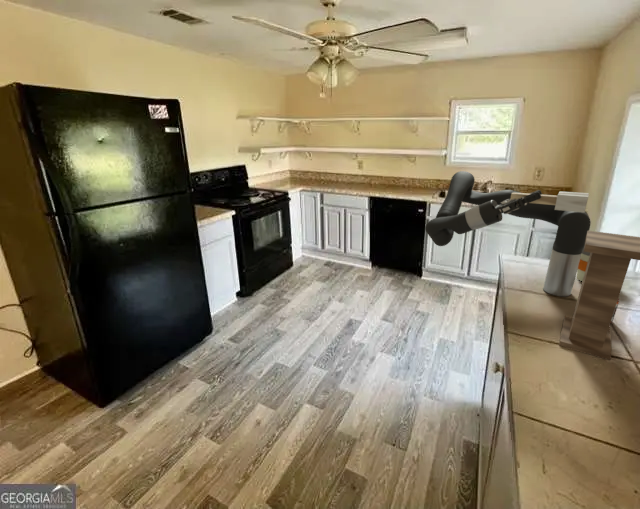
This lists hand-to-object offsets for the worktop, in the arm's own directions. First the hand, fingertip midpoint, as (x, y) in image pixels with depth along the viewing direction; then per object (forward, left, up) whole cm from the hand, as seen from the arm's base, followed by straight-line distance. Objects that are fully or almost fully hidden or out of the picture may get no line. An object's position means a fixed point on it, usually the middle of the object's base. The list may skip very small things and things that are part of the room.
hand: (540, 193), depth 101 cm
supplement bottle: (-16, +23, -44) cm, 52 cm away
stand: (0, +19, -43) cm, 47 cm away
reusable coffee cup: (-52, +19, -44) cm, 71 cm away
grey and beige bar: (0, +2, -4) cm, 4 cm away
